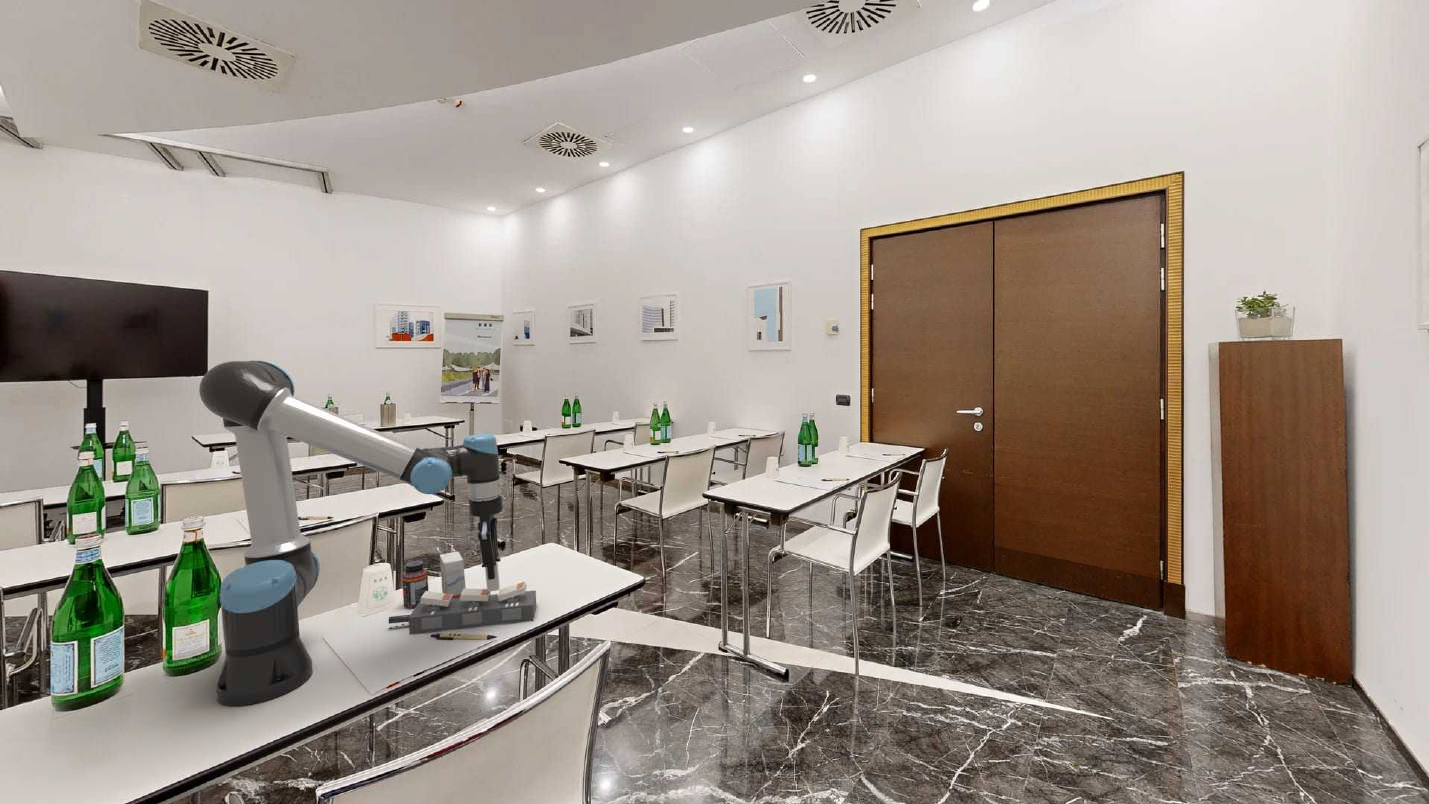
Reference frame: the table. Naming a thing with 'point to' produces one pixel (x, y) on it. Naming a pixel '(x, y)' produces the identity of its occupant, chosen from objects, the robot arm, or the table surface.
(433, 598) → the rocker
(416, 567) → the supplement bottle
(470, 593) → the rocker
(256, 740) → the table surface
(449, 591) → the ink box
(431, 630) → the rocker switch strip
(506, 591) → the rocker
